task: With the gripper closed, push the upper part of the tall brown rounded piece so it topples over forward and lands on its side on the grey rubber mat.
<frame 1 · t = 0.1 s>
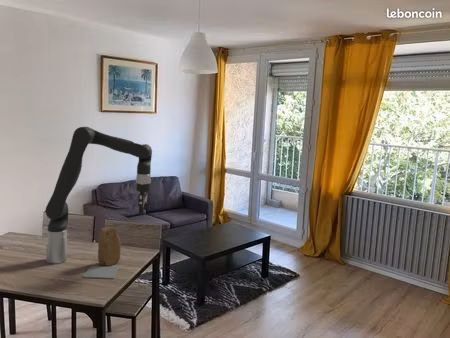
hand: (142, 211, 201), 29 cm above the table, tool pointing down, fingers open, 8 cm apart
brown rounded piece: (109, 263, 203), on the table
mat: (102, 272, 191), on the table
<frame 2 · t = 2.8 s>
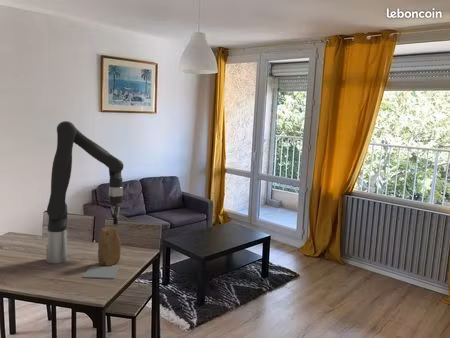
hand: (115, 224, 213), 18 cm above the table, tool pointing down, fingers closed
nothing on the table moved.
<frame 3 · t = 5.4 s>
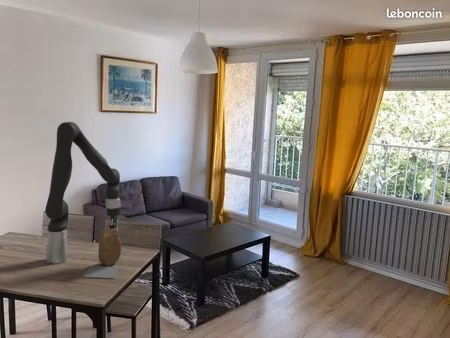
hand: (115, 237, 203), 14 cm above the table, tool pointing down, fingers closed
brown rounded piece: (109, 260, 203), point 1 cm above the table
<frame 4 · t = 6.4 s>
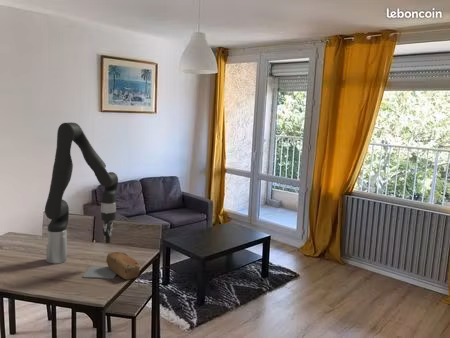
hand: (108, 242, 198), 13 cm above the table, tool pointing down, fingers closed
brown rounded piece: (114, 257, 200), point 5 cm above the table, touching mat
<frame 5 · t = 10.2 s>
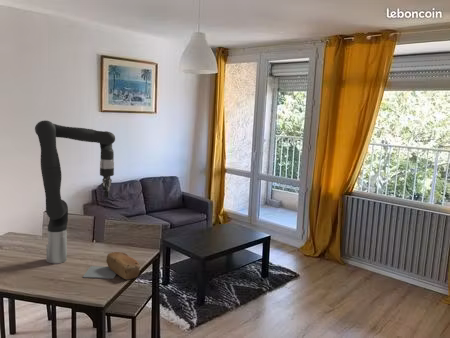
hand: (106, 197, 213), 33 cm above the table, tool pointing down, fingers closed
nothing on the table moved.
at the end: brown rounded piece tilted 94°; brown rounded piece touching mat, table; brown rounded piece inside the target area (4.1 cm from its centre), point 4.6 cm above the table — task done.
